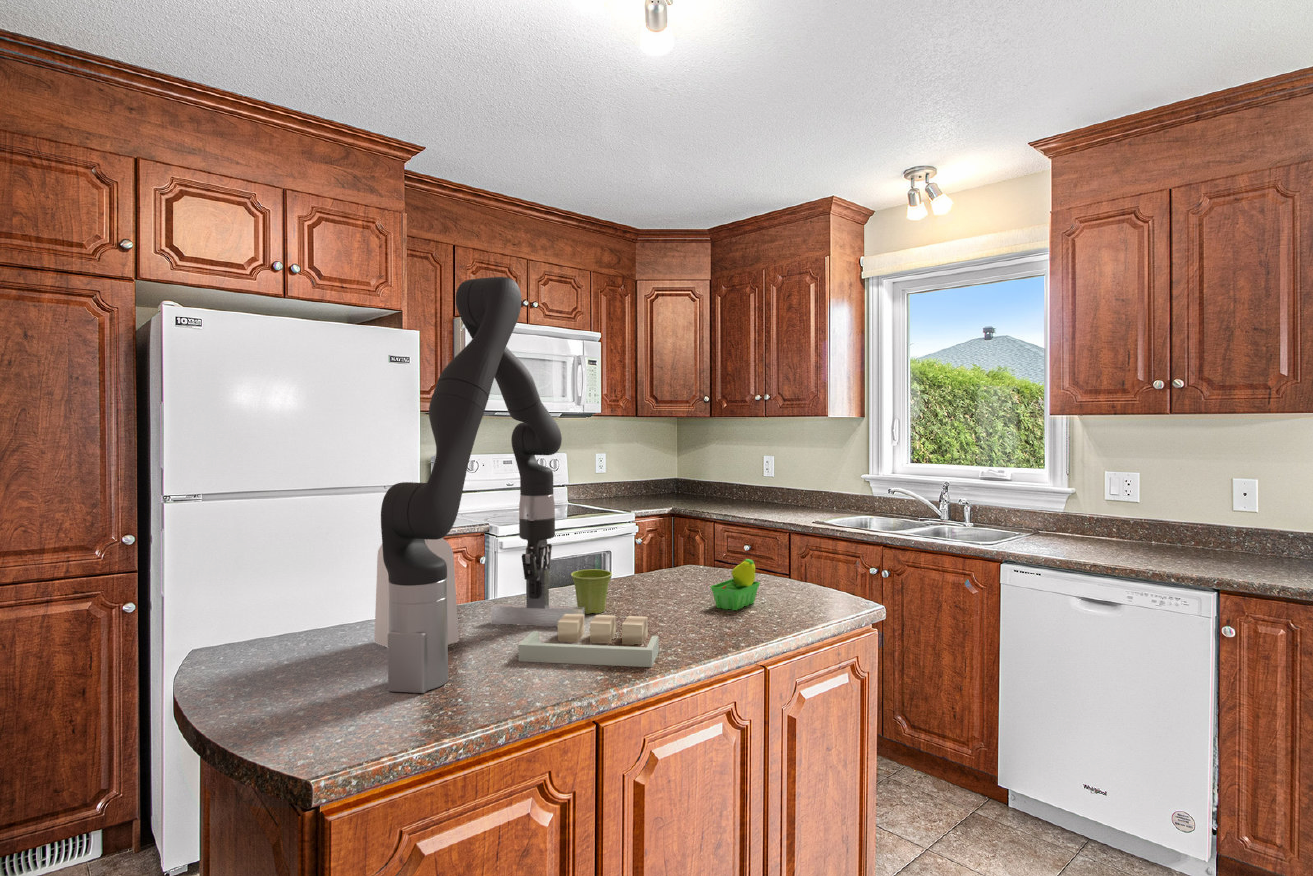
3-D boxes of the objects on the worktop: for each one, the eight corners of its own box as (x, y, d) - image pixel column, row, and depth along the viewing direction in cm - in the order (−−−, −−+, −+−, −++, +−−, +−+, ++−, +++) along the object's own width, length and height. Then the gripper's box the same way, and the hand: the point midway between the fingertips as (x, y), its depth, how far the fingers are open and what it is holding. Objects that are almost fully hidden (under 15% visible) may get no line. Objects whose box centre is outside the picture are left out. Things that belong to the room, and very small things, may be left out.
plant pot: (620, 609, 165) (620, 572, 164) (595, 619, 157) (595, 579, 156) (588, 604, 170) (588, 567, 169) (562, 613, 162) (562, 574, 161)
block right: (642, 645, 138) (642, 625, 138) (622, 644, 139) (622, 624, 139) (647, 636, 144) (647, 616, 144) (628, 635, 145) (628, 616, 145)
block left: (577, 642, 140) (577, 622, 140) (557, 642, 140) (557, 622, 140) (584, 634, 146) (584, 614, 146) (565, 633, 146) (565, 614, 146)
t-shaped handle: (581, 629, 150) (581, 572, 149) (490, 625, 152) (490, 569, 152) (585, 625, 153) (584, 569, 152) (495, 621, 155) (495, 566, 155)
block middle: (610, 644, 139) (610, 623, 139) (590, 643, 140) (589, 623, 140) (615, 635, 145) (615, 615, 145) (596, 634, 146) (596, 615, 145)
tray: (652, 667, 125) (652, 650, 125) (518, 661, 129) (518, 644, 129) (658, 651, 134) (658, 636, 134) (533, 646, 137) (533, 631, 137)
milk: (459, 641, 141) (457, 510, 140) (404, 655, 132) (402, 516, 132) (427, 630, 149) (426, 505, 148) (374, 642, 140) (372, 510, 140)
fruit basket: (733, 598, 175) (733, 552, 174) (765, 603, 169) (765, 556, 169) (708, 608, 165) (708, 560, 165) (742, 614, 160) (742, 564, 160)
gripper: (530, 511, 160) (531, 587, 160) (508, 519, 146) (509, 603, 146) (563, 511, 159) (563, 588, 159) (544, 520, 144) (544, 604, 145)
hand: (537, 595), depth 152 cm, fingers open, 3 cm apart
